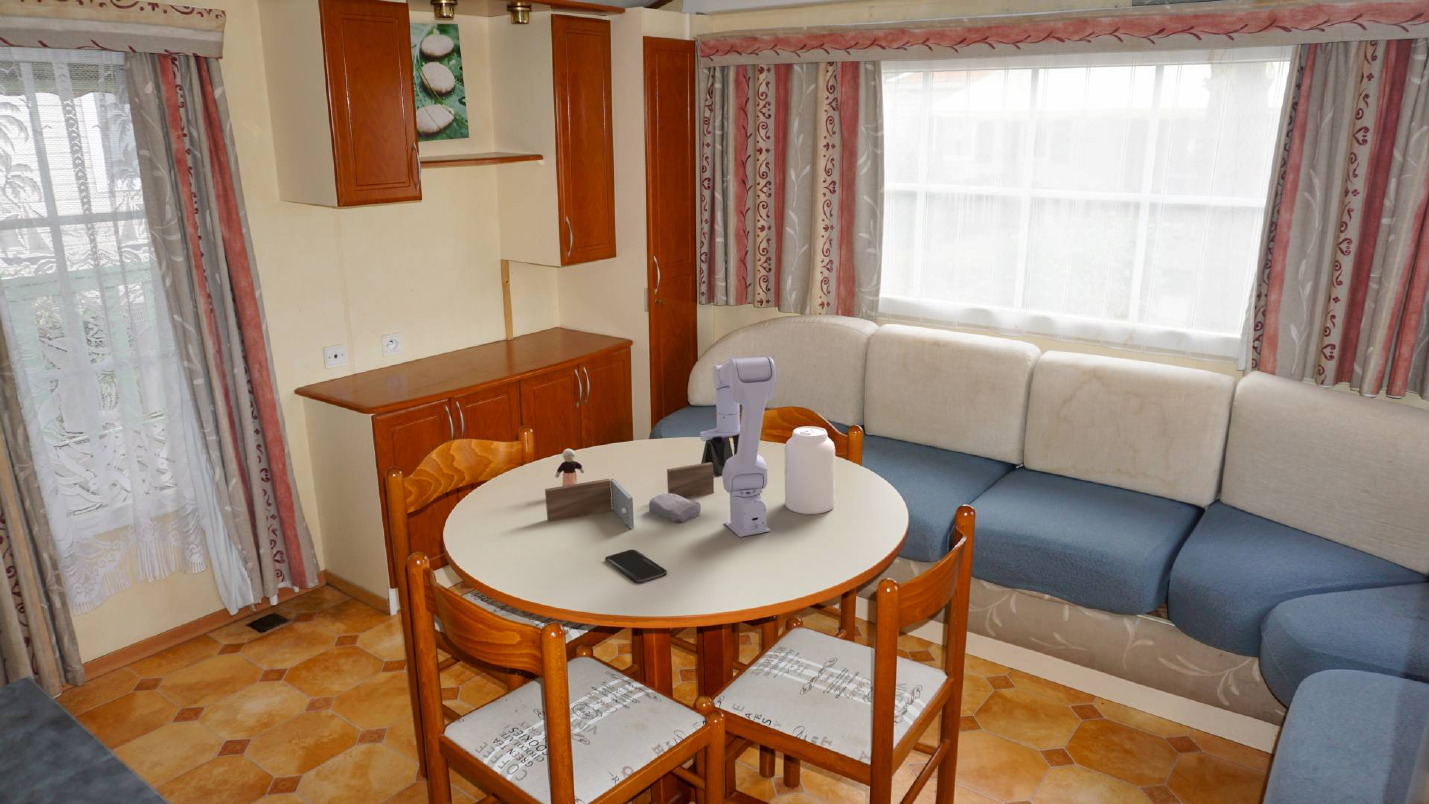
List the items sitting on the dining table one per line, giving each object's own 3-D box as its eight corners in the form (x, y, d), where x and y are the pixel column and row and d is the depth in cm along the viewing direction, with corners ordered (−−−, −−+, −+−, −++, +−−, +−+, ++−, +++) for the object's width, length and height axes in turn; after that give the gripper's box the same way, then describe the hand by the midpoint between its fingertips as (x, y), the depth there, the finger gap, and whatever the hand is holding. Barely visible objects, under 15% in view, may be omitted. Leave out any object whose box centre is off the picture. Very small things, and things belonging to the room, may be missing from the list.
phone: (637, 581, 207) (603, 557, 219) (637, 586, 207) (603, 562, 219) (669, 571, 211) (634, 548, 223) (669, 576, 212) (634, 553, 224)
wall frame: (713, 492, 258) (713, 463, 256) (548, 521, 242) (546, 490, 240) (711, 490, 259) (710, 462, 257) (547, 519, 243) (544, 489, 241)
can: (809, 519, 239) (809, 441, 234) (774, 505, 248) (773, 429, 243) (845, 506, 247) (846, 430, 241) (809, 493, 256) (809, 419, 251)
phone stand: (736, 471, 273) (735, 430, 270) (719, 476, 270) (718, 434, 266) (717, 463, 280) (716, 423, 277) (700, 468, 277) (699, 427, 274)
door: (606, 508, 248) (605, 480, 246) (615, 506, 249) (613, 478, 247) (624, 529, 235) (623, 499, 233) (633, 527, 236) (632, 497, 234)
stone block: (673, 509, 253) (644, 512, 246) (676, 491, 252) (647, 494, 245) (705, 522, 245) (676, 526, 238) (708, 504, 244) (679, 507, 237)
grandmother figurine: (561, 499, 256) (558, 453, 252) (555, 495, 259) (551, 449, 256) (588, 493, 260) (585, 447, 256) (581, 489, 263) (578, 443, 260)
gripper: (747, 404, 251) (748, 455, 254) (694, 411, 245) (696, 463, 249) (759, 411, 244) (760, 463, 248) (705, 419, 239) (707, 471, 243)
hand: (729, 463), depth 248 cm, fingers open, 4 cm apart
